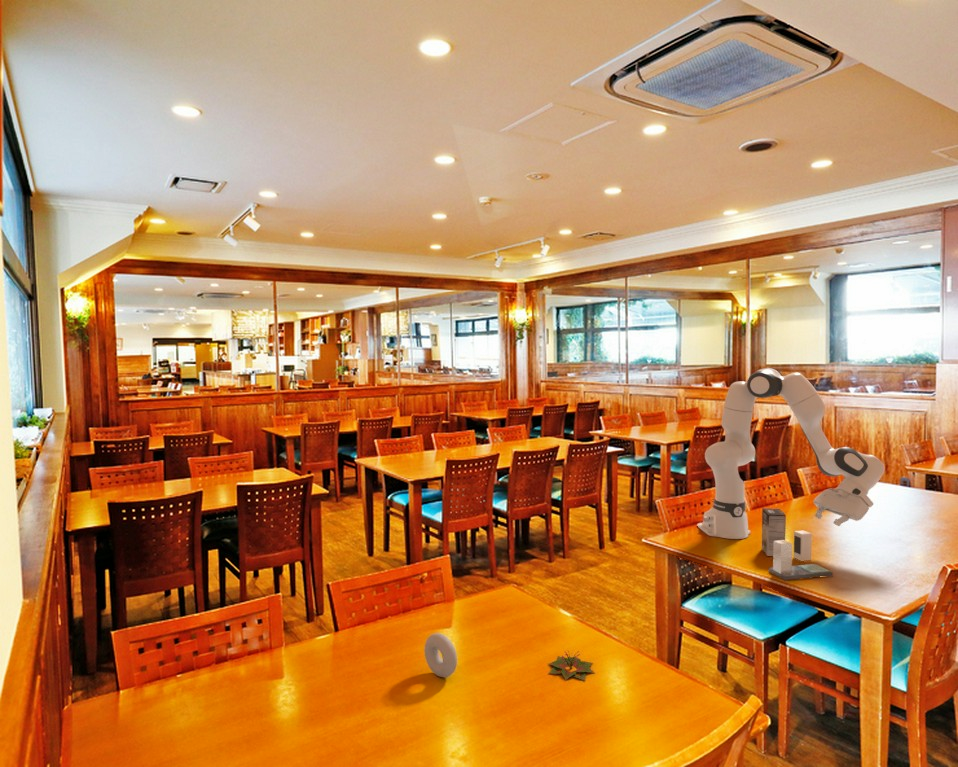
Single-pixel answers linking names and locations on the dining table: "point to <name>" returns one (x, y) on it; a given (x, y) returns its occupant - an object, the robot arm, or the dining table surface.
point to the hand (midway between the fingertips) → (826, 521)
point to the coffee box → (772, 528)
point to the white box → (802, 545)
